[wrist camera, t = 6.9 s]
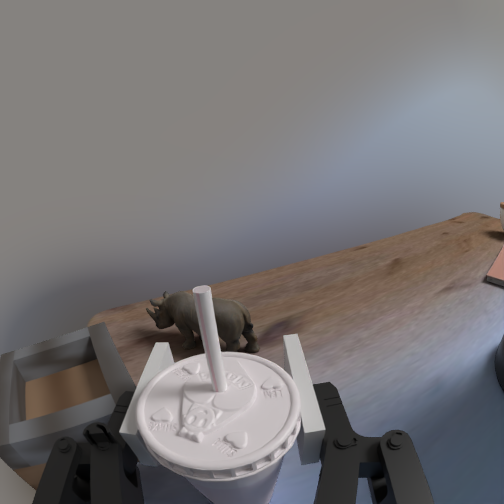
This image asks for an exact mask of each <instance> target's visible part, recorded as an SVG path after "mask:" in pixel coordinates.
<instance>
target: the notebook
mask: <svg viewBox="0 0 504 504" xmlns="http://www.w3.org/2000/svg"><path fill="white" fill-rule="evenodd" d="M486 276H487V281H489V282H492V283H495V284H498V285H501V286H504V246H503V248H502V249H501V251H500V253H499V255H498V256H497V258H496V260H495V262H494V263H493V265H492V267H491V268H490V270H489V271H488V273H487V275H486Z"/></svg>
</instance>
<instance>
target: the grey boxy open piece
mask: <svg viewBox="0 0 504 504" xmlns="http://www.w3.org/2000/svg"><path fill="white" fill-rule="evenodd" d="M136 388H137V387H136V386H135V384H134V382H133V380H132V378H131V376H130V375H129V373H128V371H127V369H126V367H125V365H124V363H123V361H122V359H121V357H120V355H119V353H118V351H117V349H116V347H115V345H114V343H113V341H112V338H111V336H110V334H109V332H108V330H107V327H106V325H105V323H104V322H102V323H99V324H96V325H93V326H90V327H87V328H84V329H81V330H78V331H75V332H72V333H69V334H66V335H63V336H59V337H56V338H53V339H50V340H47V341H44V342H41V343H37V344H34V345H31V346H28V347H25V348H22V349H18V350H15V351H12V352H9V353H5V354H2V355H1V358H0V457H1V459H2V460H3V461H4V462H5V463H7V465H8V466H9V467H10V468H12V469H13V470H14V471H15V472H16V473H17V474H18V475H19V476H20V477H21V478H22V479H23V480H25V481H26V482H27V483H28V484H29V485H30V486H32V487H33V488H34V489H35V490H36V491H37V488H38V485H39V482H40V479H41V476H42V474H43V471H44V468H45V466H46V463H47V460H48V458H49V455H50V453H51V450H52V448H53V446H54V443H55V442H56V440H58V439H59V438H61V437H64V436H65V437H71V438H73V439H74V440H75V441H76V443H85V442H88V441H87V439H86V438H85V437H84V435H83V431H84V429H85V428H86V427H87V426H88V425H90V424H91V423H95V422H100V423H103V424H106V425H107V424H108V422H109V419H110V417H111V415H112V412H113V410H114V408H115V406H116V403H117V401H118V399H119V397H120V396H121V395H122V394H123V393H124V392H125V391H132V392H135V390H136ZM137 462H139V460H138V461H137Z"/></svg>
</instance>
